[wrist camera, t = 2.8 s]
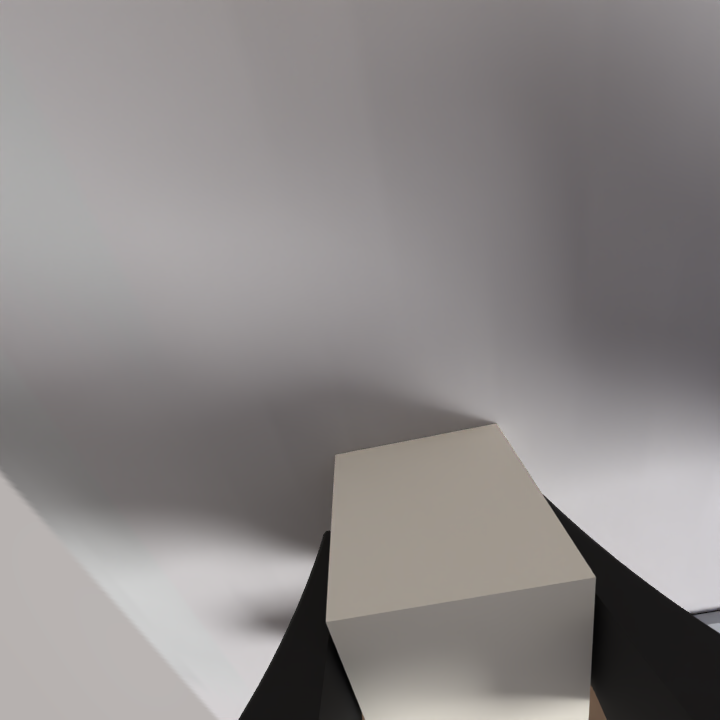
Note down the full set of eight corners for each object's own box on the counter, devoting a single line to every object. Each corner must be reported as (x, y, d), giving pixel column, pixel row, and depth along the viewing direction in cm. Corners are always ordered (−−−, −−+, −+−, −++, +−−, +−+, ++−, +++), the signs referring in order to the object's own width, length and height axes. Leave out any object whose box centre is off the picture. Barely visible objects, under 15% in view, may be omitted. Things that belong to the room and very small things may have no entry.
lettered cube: (496, 423, 11) (595, 576, 7) (506, 542, 13) (588, 723, 9) (335, 454, 12) (326, 621, 7) (368, 566, 14) (378, 753, 9)
